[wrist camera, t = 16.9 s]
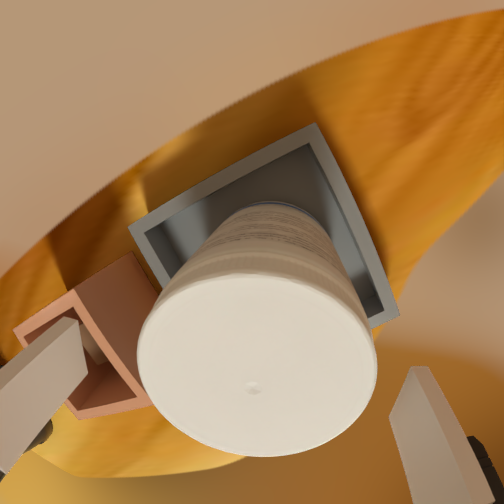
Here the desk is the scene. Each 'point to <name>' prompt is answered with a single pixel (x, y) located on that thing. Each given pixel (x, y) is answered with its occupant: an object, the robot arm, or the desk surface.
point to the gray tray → (272, 189)
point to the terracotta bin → (104, 335)
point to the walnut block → (91, 345)
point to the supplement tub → (260, 338)
